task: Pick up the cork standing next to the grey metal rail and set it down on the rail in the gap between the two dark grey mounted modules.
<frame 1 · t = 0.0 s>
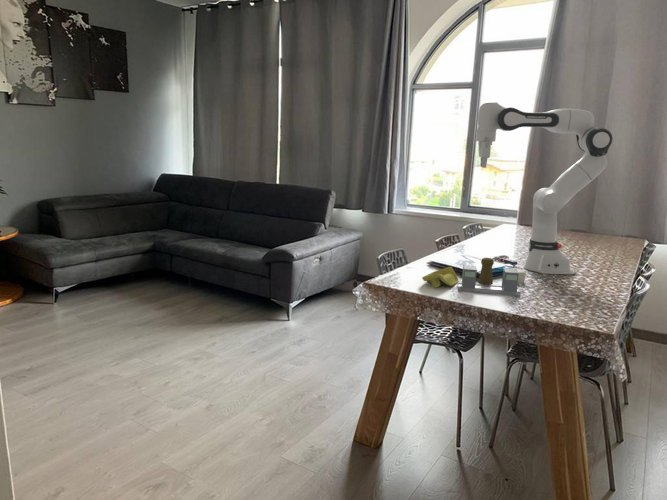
hand: (483, 167, 235), 48 cm above the table, fingers open, 8 cm apart
module 2: (508, 293, 200), resting on rail
beige terminal block: (517, 281, 217), on the table
plastic component: (438, 284, 210), on the table
module 1: (468, 289, 203), resting on rail
cork: (485, 283, 214), on the table
rail: (488, 291, 201), on the table
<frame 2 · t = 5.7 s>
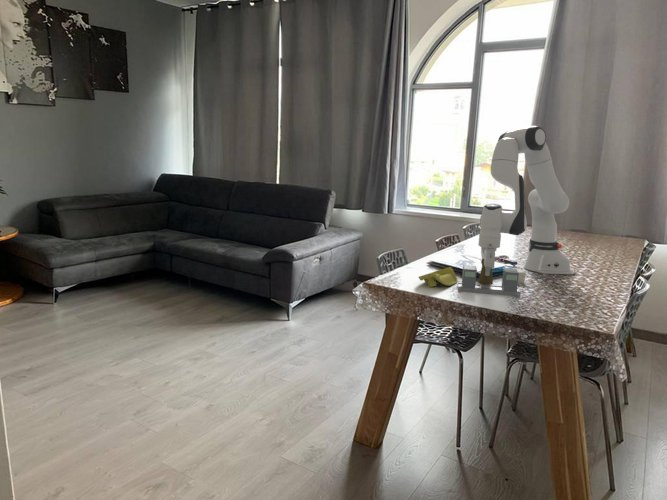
hand: (486, 273, 213), 4 cm above the table, fingers closed on cork, 5 cm apart
cork: (485, 283, 214), on the table, touching gripper
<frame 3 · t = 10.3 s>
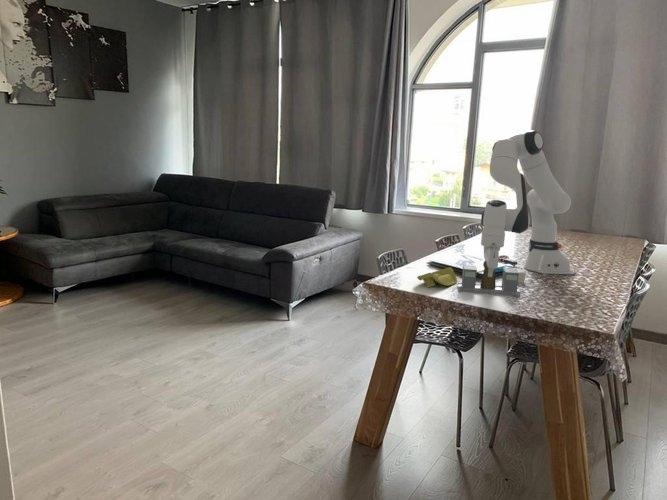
hand: (489, 274, 200), 7 cm above the table, fingers closed on cork, 4 cm apart
cork: (487, 287, 201), point 2 cm above the table, touching gripper, rail
when the fingers open (7 cm above the table, at t = 11.2 s): cork stays where it is, resting on rail.
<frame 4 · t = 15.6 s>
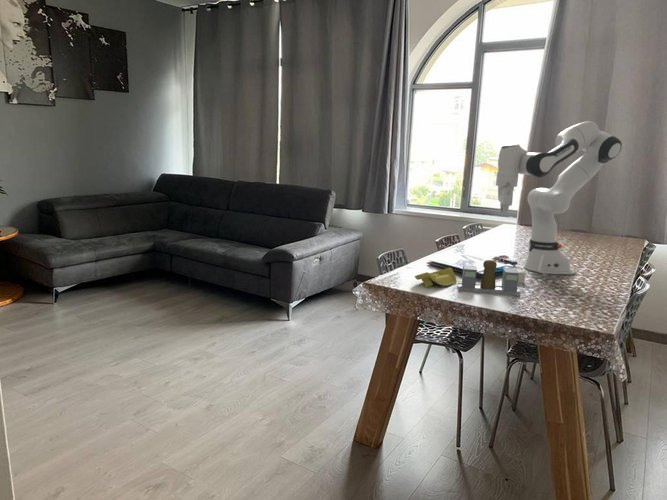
hand: (503, 213, 217), 29 cm above the table, fingers open, 8 cm apart
cork: (487, 287, 201), point 2 cm above the table, touching rail
at the end: cork inside the target area on the rail (0.3 cm from its centre), point 1.7 cm above the rail's base; cork tilted 0°; the gripper is holding nothing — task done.
